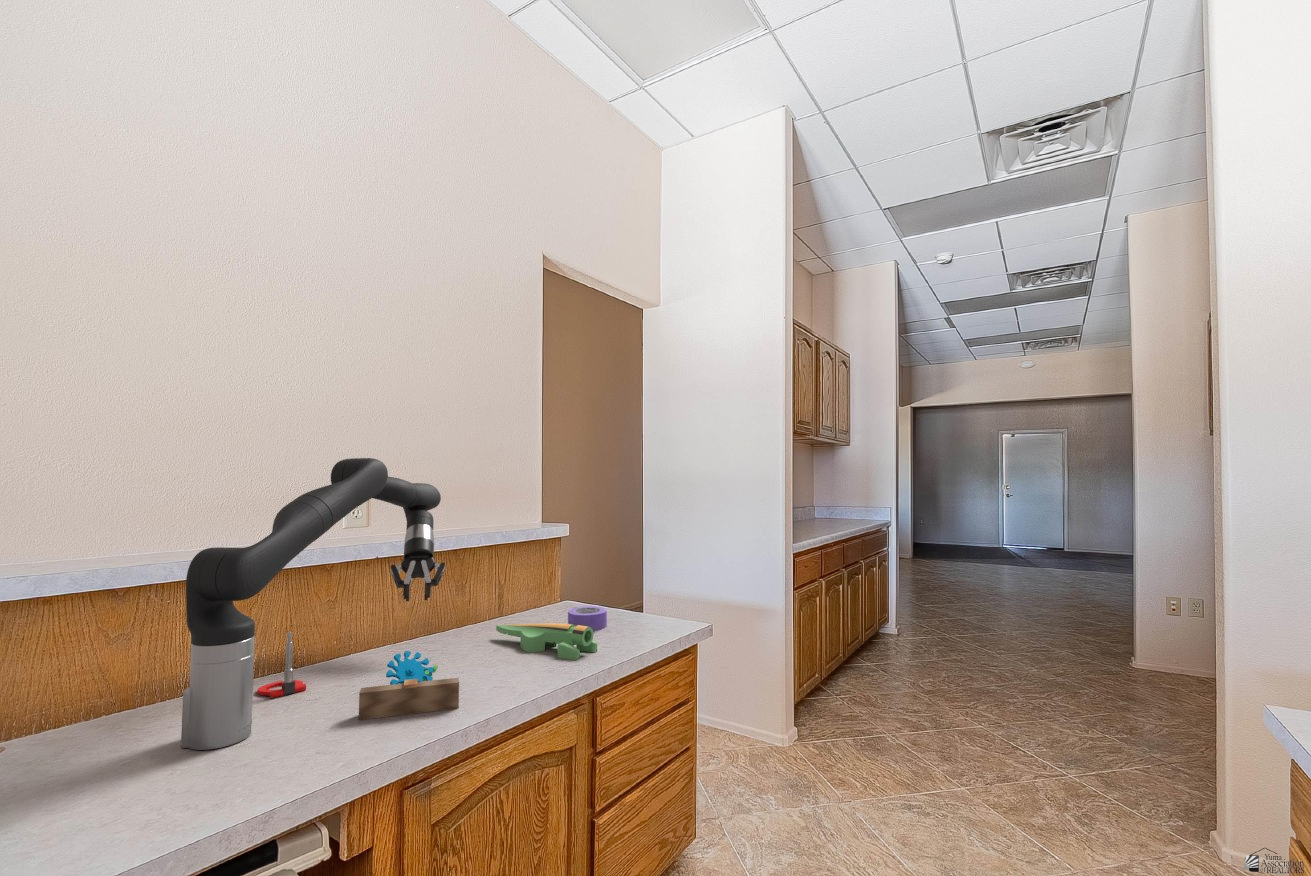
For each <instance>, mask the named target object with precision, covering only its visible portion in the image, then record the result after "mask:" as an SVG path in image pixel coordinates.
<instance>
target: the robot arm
mask: <svg viewBox="0 0 1311 876" xmlns="http://www.w3.org/2000/svg"><path fill="white" fill-rule="evenodd" d="M371 499H375V500H378V501H381V502H382V501H383V502H386V503H389V504H391V505H394V506H397V507H400V508H402V509H403V512H404V515H405V519H406V530H405V535H404V536H405V537H404V544H403V545H404V546H403V560H402V561H401V563H400V564H397V565H396V564H391V565H390V573H391V576H392V579H393V581H394V584H395V586H396V588H397V589H403V593H402V597H403V600H405V602H409V601H410V592H411V590H410V586H411V583H412V582H413V580H414V579H417V578H418V579H419V578H420V579H421V578H422V579H423V582H424V601H428V599H430V598H431V590H432V587H437V586H439V583H440V581H441V580H442V577H443V576H444V575H443V574H444V572H445V570H446V563H445V562H441V563H438V562H436V561H435V559H434V557H435V556H434V555H435V535H434V516H433V513H431V512H430V510H433V509H436V508H437V507H438V506H439V505H440V503H441V501H442V496H441V492H440V491H439V490H438V489H437V487H436V486H434V485H432V484H430V483H423V482H421V483H419V482H410V481H409V480H405V479H403V478H402V479H401V478H400V477H399V478H398V477H394V476H393V477H392V476H389V472H388V468H387V466H386V465H385V463H384V462H383V461H381V460H379V459H376V458H371V457H359V458H358V457H356V458H355V457H353V458H345V459H341V460H339V461H338V462H336V463H335V464H334V465H333V467H332V469H331V472H330V484H328V485H324V486H321V487H318V488H315V489H313V490H310V491H307V492H305V493H303V494H301V495H299V496H298V497H296V498H295V499H292V501H290V502H288V503H287V504H285V506H283V507H282V508H281V509H280V510H279V511H278V512H277V513H276V515H275V517H274V518H273V519H274V520H273V524H272V530H271V532H270V534H269V535H267V536H265V537H264V538H262V539H261V540H259V541H258V542H256V543H254V544H252V545H250V546H244V547H224V546H223V547H222V546H221V547H219V546H218V547H208V548H204V549H202V550H200V551H199V552H198V553H197V554H196V555H194V557H193V558H192V559H191V561H190V563H189V566H188V568H187V572H186V576H185V577H186V579H185V600H186V601H185V603H186V604H185V605H186V606H185V609H186V610H185V612H186V616H185V617H186V618H185V619H186V626H187V628H188V630H189V633H190V636H191V637H190V638H191V639H190V662H189V666H190V667H189V668H190V669H189V686H188V687H187V688H184V690H183V692H182V707H181V708H182V712H181V713H182V715H181V734H180V748H181V749H183V748H186V749H187V748H188V749H190V750H197V751H204V750H205V751H206V750H216V749H219V748H220V749H221V748H224V747H229V746H232V745H234V744H237V743H240V742H242V741H243V740H245V739H247V738H248V737H249V736H250V735H251V733H252V723H253V717H252V716H253V693H254V692H253V691H254V689H253V688H254V668H255V667H254V663H255V638H256V637H255V635H256V624H255V620H254V619H253V618H251V617H249V616H247V615H246V614H245V613H243V612H241V611H240V610H239V609H237V608H236V605H234V602H239V601H244V600H249V599H252V598H253V597H255V596H256V595H257V594H259V593H260V592H261V591H263V589H264V588H265V587H266V586H268V585H269V583H271V582H272V580H274V578H275V577H276V576H277V575H278V574H279V573H280V572H281V571H282V570H283V569H284V568H285V567H286V566H287V565H288V564H289V563H290V562H291V561H292V560H293V559H295V558H296V557H297V556H298V555H299V554H300V553H301V552H303V551H305V549H306V548H307V547H308V546H310V545H311V544H312V543H314V542H315V541H316V540H318V539H320V537H322V536H323V535H324V534H325V533H327V532H328V531H329V530H331V528H333V527H334V526H335V525H336V524H337V523H338V522H339V521H341V520H343V519H344V518H345V517H346V516H348V515H349V514H350V513H351V512H353V511H354V510H356V509H357V508H358V507H360V506H361V505H363V504H364V503H366V502H368V501H370V500H371ZM434 569H435V574H434V576H433V578H431V576H430V573H431V572H432V571H433V570H434ZM401 570H402V571H403V572H404V573H405V574H406V575H405V578H404V580H403V579H402V578H401V576H400V574H401Z"/></svg>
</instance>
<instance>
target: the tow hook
mask: <svg viewBox="0 0 1311 876" xmlns="http://www.w3.org/2000/svg"><path fill="white" fill-rule="evenodd" d="M286 634H287V638H286V642H285V669H284V672H283V673H284V675H283V680H280V681H275V682H270V683H267V684H264V685H261V686H259V687H258V688H257V689H256V690H257V694H258V695H260V696H269V698H270V699H275V698H279V696H280V697H286V696H289V694H290V695H293V693H294V694H295V693H299V692H303V691H304V692H305V691H306V690H307V684H306V683H304V682H303V681H302V680H298V679H294V668H293V641H292V631H287V633H286ZM277 686H278V687H281V688H280V689H279V688H278V689H273V688H277ZM270 688H271V689H270ZM285 695H286V696H285Z"/></svg>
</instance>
